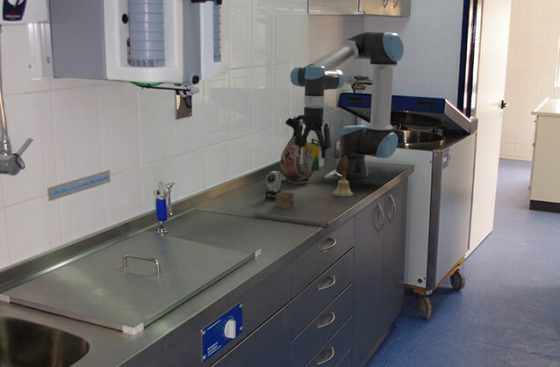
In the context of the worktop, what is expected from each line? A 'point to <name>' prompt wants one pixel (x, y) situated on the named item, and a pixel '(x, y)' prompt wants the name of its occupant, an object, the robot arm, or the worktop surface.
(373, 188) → the worktop surface
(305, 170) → the ceramic jug
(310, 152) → the crayon box
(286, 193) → the walnut block
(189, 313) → the worktop surface
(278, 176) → the watch
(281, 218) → the metal rod
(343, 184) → the hand bell
